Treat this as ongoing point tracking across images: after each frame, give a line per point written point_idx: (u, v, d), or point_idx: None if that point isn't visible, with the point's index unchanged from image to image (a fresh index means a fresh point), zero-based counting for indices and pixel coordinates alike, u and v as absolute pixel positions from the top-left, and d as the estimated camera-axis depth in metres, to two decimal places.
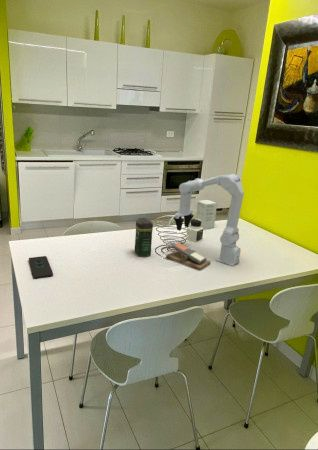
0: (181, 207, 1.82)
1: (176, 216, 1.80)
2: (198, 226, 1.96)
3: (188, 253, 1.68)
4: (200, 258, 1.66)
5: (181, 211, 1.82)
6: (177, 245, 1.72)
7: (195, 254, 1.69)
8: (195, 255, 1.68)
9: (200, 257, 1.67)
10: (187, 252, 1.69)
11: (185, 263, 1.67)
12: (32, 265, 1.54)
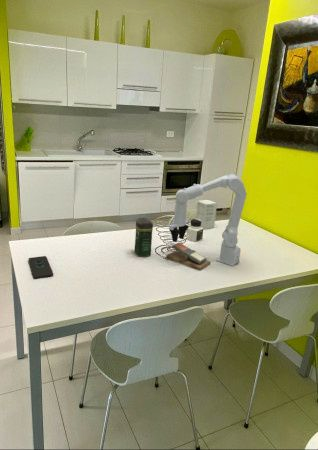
0: (176, 217, 1.67)
1: (170, 227, 1.64)
2: (198, 226, 1.96)
3: (188, 253, 1.68)
4: (200, 258, 1.66)
5: (176, 221, 1.67)
6: (177, 245, 1.72)
7: (195, 254, 1.69)
8: (195, 255, 1.68)
9: (200, 257, 1.67)
10: (187, 252, 1.69)
11: (185, 263, 1.67)
12: (32, 265, 1.54)
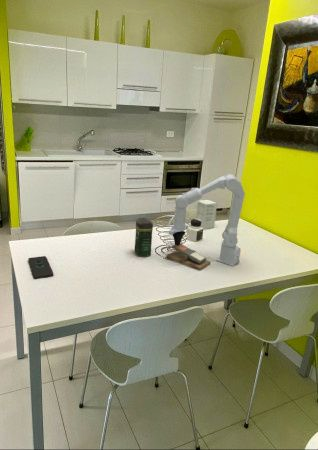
0: (175, 222, 1.68)
1: (170, 232, 1.65)
2: (198, 226, 1.96)
3: (188, 253, 1.68)
4: (200, 258, 1.66)
5: (175, 226, 1.68)
6: (177, 245, 1.73)
7: (195, 254, 1.69)
8: (195, 255, 1.68)
9: (200, 257, 1.67)
10: (187, 252, 1.69)
11: (185, 263, 1.67)
12: (32, 265, 1.53)
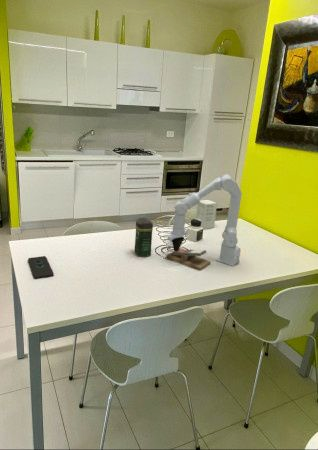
0: (174, 228, 1.69)
1: (169, 238, 1.66)
2: (198, 226, 1.96)
3: (187, 252, 1.69)
4: (199, 251, 1.66)
5: (174, 232, 1.69)
6: (175, 251, 1.74)
7: (194, 251, 1.69)
8: (194, 251, 1.68)
9: (199, 251, 1.67)
10: (186, 252, 1.69)
11: (185, 263, 1.67)
12: (32, 265, 1.53)
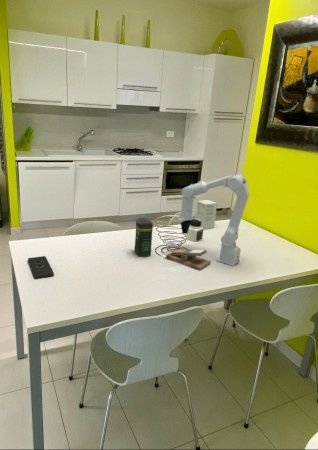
0: (183, 211, 1.77)
1: (178, 221, 1.74)
2: (198, 226, 1.96)
3: (187, 252, 1.69)
4: (199, 251, 1.66)
5: (183, 216, 1.77)
6: (175, 251, 1.74)
7: (194, 251, 1.69)
8: (194, 251, 1.68)
9: (199, 251, 1.67)
10: (186, 252, 1.69)
11: (185, 263, 1.67)
12: (32, 265, 1.53)
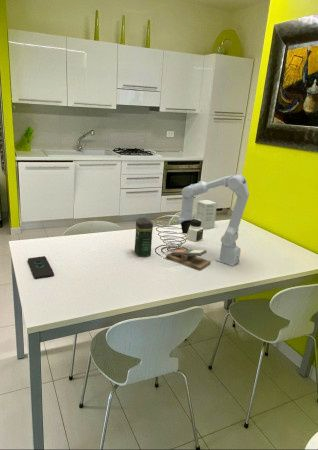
0: (183, 211, 1.77)
1: (178, 221, 1.74)
2: (198, 226, 1.96)
3: (187, 252, 1.69)
4: (199, 251, 1.66)
5: (183, 215, 1.77)
6: (175, 251, 1.74)
7: (194, 251, 1.69)
8: (194, 251, 1.68)
9: (199, 251, 1.67)
10: (186, 252, 1.69)
11: (185, 263, 1.67)
12: (32, 265, 1.53)
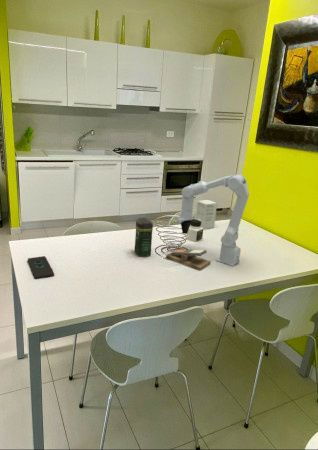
0: (183, 211, 1.77)
1: (178, 221, 1.74)
2: (198, 226, 1.96)
3: (187, 252, 1.69)
4: (199, 251, 1.66)
5: (183, 215, 1.77)
6: (175, 251, 1.74)
7: (194, 251, 1.69)
8: (194, 251, 1.68)
9: (199, 251, 1.67)
10: (186, 252, 1.69)
11: (185, 263, 1.67)
12: (32, 265, 1.53)
